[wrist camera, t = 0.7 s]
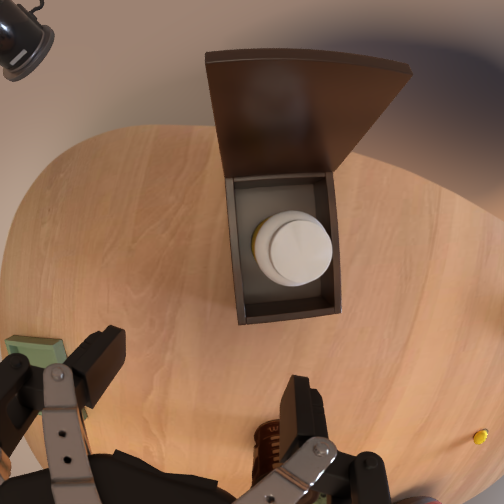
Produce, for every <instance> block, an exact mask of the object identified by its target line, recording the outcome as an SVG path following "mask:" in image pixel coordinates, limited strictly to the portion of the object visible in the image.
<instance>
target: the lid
mask: <svg viewBox="0 0 504 504" xmlns="http://www.w3.org/2000/svg"><path fill="white" fill-rule="evenodd" d="M205 66H206V72H207V78H208V84H209V90H210V96H211V102H212V108H213V113H214V120H215V126H216V132H217V138H218V143H219V149H220V155H221V160H222V166H223V172H224V177H225V178H226V177H237V176H250V175H264V174H280V173H301V172H334V171H335V170H336V169H337V168H338V167H339V166H340V164H341V163H342V162H343V161H344V159H345V158H346V157H347V156H348V155H349V153H350V152H351V151H352V150H353V149H354V147H355V146H356V145H357V143H358V142H359V141H360V140H361V139H362V137H363V136H364V135H365V134H366V133H367V131H368V130H369V129H370V127H372V125H373V124H374V123H375V122H376V120H377V119H378V118H379V117H380V115H381V114H382V113H383V112H384V111H385V109H386V108H387V107H388V106H389V104H390V103H391V102H392V101H393V99H394V98H395V97H396V96H397V94H398V93H399V92H400V91H401V89H402V88H403V87H404V86H405V85H406V83H407V82H408V81H409V80H410V78H411V77H412V76H413V73H412V71H411V69H410V67H409V65H408V64H406V63H402V62H397V61H393V60H388V59H383V58H377V57H372V56H366V55H359V54H352V53H344V52H335V51H324V50H311V49H288V48H260V49H237V50H223V51H212V52H206V53H205Z"/></svg>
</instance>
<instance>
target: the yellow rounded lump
mask: <svg viewBox="0 0 504 504" xmlns="http://www.w3.org/2000/svg"><path fill="white" fill-rule="evenodd" d="M487 434H488V430H487V429H486V430H484V431H479V432H477V433H476V434H475V436H474V443H475V444H479V445H480V444H481V443H483V442H484V441H485V439H486V438H487Z"/></svg>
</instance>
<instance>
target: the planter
mask: <svg viewBox="0 0 504 504" xmlns="http://www.w3.org/2000/svg"><path fill="white" fill-rule="evenodd" d="M395 504H442V503H440V502H439V501H438V500H436V499H434V498H431V497H426V496H417V497H411V498H407V499H404V500H401V501H399V502H397V503H395Z"/></svg>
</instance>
